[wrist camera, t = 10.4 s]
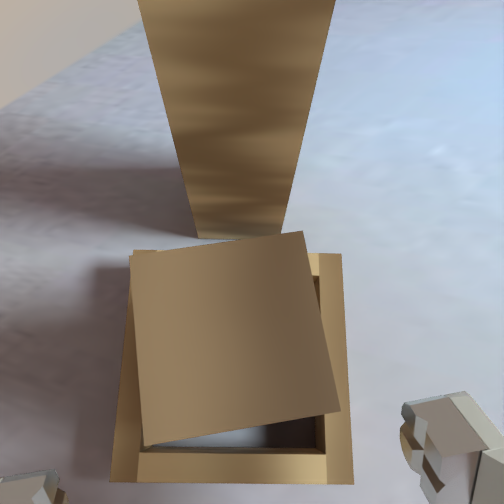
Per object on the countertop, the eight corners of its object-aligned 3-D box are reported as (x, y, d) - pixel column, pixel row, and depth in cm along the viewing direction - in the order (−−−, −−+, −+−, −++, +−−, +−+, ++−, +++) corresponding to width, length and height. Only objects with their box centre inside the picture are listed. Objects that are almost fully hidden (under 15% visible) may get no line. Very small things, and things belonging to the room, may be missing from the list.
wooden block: (191, 425, 19) (143, 446, 10) (179, 322, 21) (129, 255, 11) (292, 407, 20) (341, 411, 10) (274, 308, 21) (302, 230, 12)
